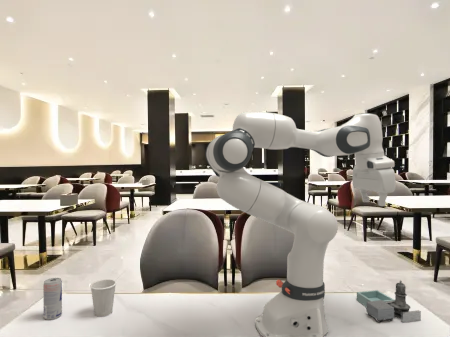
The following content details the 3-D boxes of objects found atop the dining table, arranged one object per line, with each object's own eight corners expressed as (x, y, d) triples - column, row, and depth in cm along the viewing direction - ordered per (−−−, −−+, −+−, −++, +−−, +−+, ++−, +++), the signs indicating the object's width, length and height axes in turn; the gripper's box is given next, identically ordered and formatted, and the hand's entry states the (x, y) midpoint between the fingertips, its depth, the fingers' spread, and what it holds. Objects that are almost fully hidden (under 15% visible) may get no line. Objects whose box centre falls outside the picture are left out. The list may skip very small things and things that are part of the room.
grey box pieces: (381, 325, 99) (381, 311, 99) (363, 312, 107) (363, 299, 107) (420, 320, 102) (420, 306, 102) (400, 308, 111) (400, 295, 111)
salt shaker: (413, 320, 102) (413, 284, 102) (393, 318, 103) (394, 282, 103) (406, 312, 108) (407, 277, 108) (388, 310, 109) (388, 276, 109)
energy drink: (62, 311, 107) (62, 276, 107) (60, 318, 102) (60, 282, 102) (45, 314, 105) (45, 278, 105) (42, 321, 100) (42, 284, 100)
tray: (373, 311, 108) (373, 302, 108) (356, 300, 117) (356, 292, 117) (395, 308, 110) (395, 300, 110) (377, 298, 119) (377, 290, 119)
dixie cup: (86, 312, 106) (86, 283, 106) (109, 304, 112) (109, 277, 112) (96, 321, 100) (96, 290, 100) (120, 312, 106) (120, 283, 106)
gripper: (346, 163, 113) (349, 200, 114) (377, 163, 93) (382, 209, 93) (362, 161, 114) (366, 199, 114) (398, 161, 93) (402, 207, 94)
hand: (373, 203), depth 104 cm, fingers open, 8 cm apart
